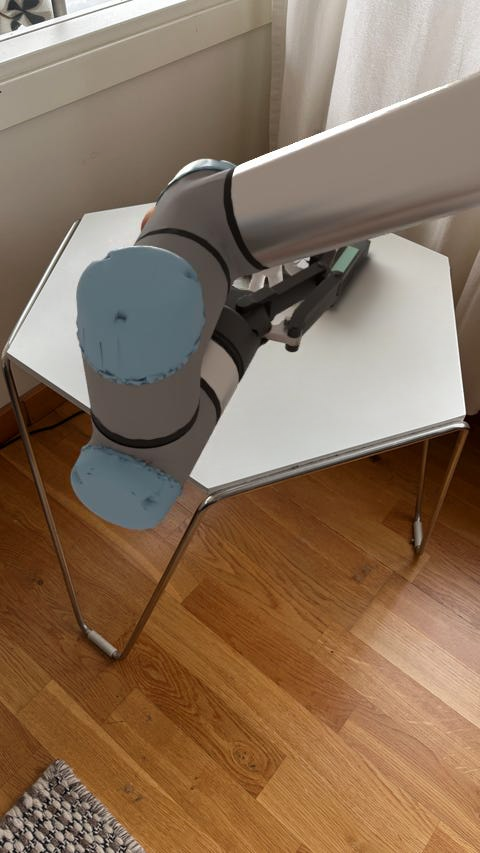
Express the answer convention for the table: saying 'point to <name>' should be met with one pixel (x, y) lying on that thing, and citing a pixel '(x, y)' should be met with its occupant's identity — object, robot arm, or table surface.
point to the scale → (340, 262)
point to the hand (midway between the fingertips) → (286, 220)
